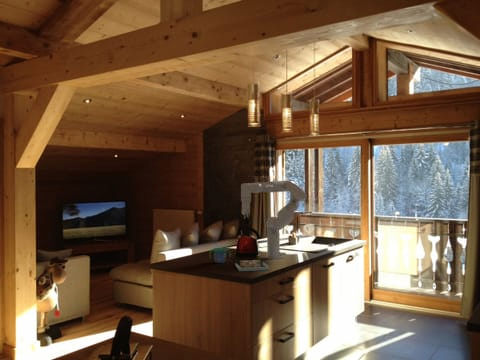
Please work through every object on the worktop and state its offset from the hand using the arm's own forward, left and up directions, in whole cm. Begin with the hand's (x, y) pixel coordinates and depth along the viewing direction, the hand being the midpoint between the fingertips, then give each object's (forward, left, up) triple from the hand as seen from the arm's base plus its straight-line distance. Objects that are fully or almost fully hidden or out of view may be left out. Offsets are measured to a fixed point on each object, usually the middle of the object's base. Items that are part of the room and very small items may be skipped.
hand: (246, 223), depth 352 cm
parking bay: (+2, +33, -27) cm, 43 cm away
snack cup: (+21, +8, -27) cm, 35 cm away
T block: (+2, +32, -27) cm, 42 cm away
